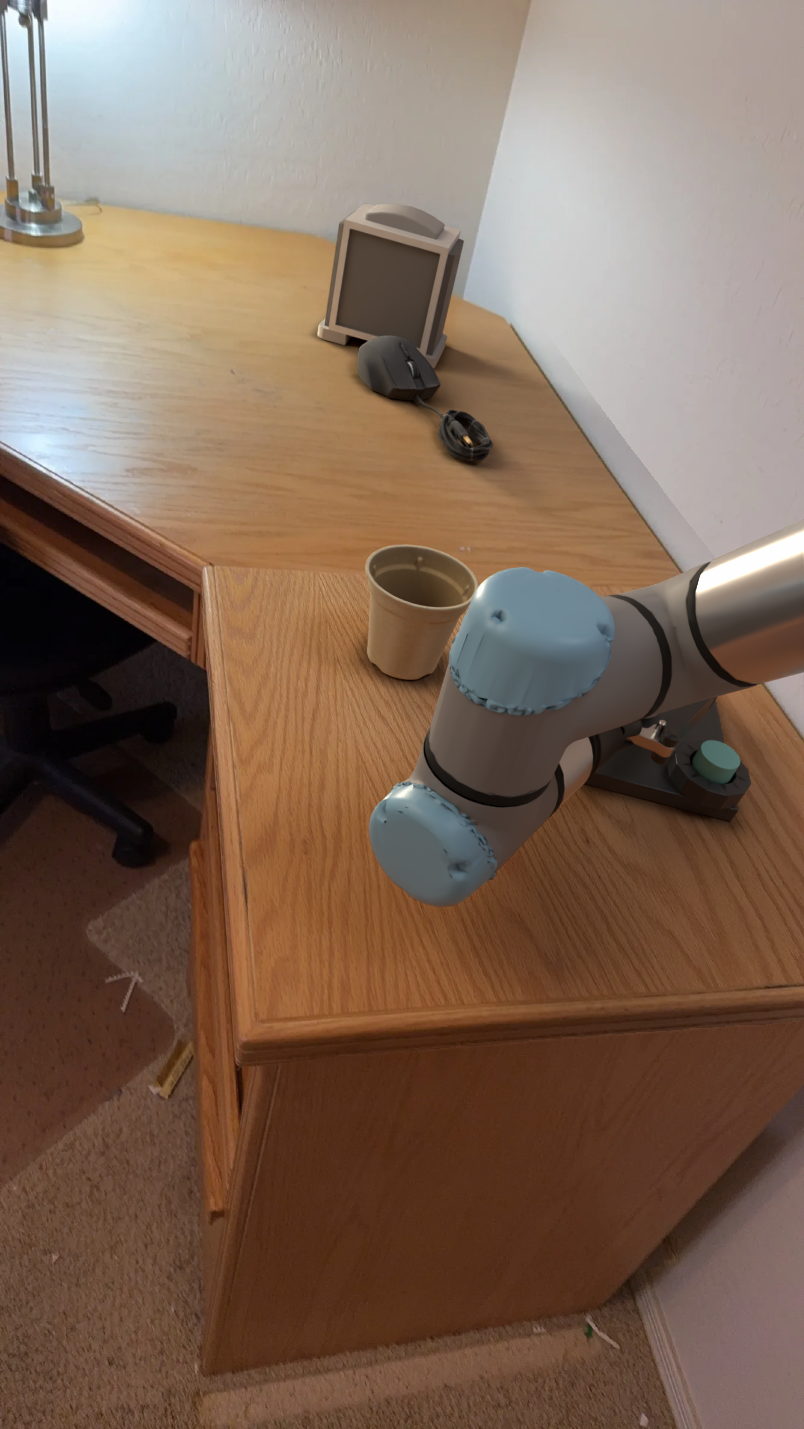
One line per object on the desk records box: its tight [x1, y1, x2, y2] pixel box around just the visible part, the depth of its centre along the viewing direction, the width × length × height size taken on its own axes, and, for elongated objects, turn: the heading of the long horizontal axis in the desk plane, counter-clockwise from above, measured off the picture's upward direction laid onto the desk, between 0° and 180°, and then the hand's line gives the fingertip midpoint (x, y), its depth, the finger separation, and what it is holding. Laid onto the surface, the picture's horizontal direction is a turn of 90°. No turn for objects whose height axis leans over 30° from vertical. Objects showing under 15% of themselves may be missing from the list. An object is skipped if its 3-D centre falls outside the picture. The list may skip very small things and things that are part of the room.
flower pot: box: [364, 544, 480, 681], centre depth 74 cm, size 9×9×9 cm
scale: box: [583, 700, 752, 822], centre depth 74 cm, size 16×14×3 cm
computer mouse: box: [356, 336, 494, 462], centre depth 117 cm, size 10×32×6 cm, turn 29°
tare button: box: [692, 740, 741, 784], centre depth 69 cm, size 3×3×2 cm
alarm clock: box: [317, 202, 465, 369], centre depth 131 cm, size 18×13×18 cm
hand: (681, 623), depth 75 cm, fingers closed on supplement bottle, 6 cm apart
